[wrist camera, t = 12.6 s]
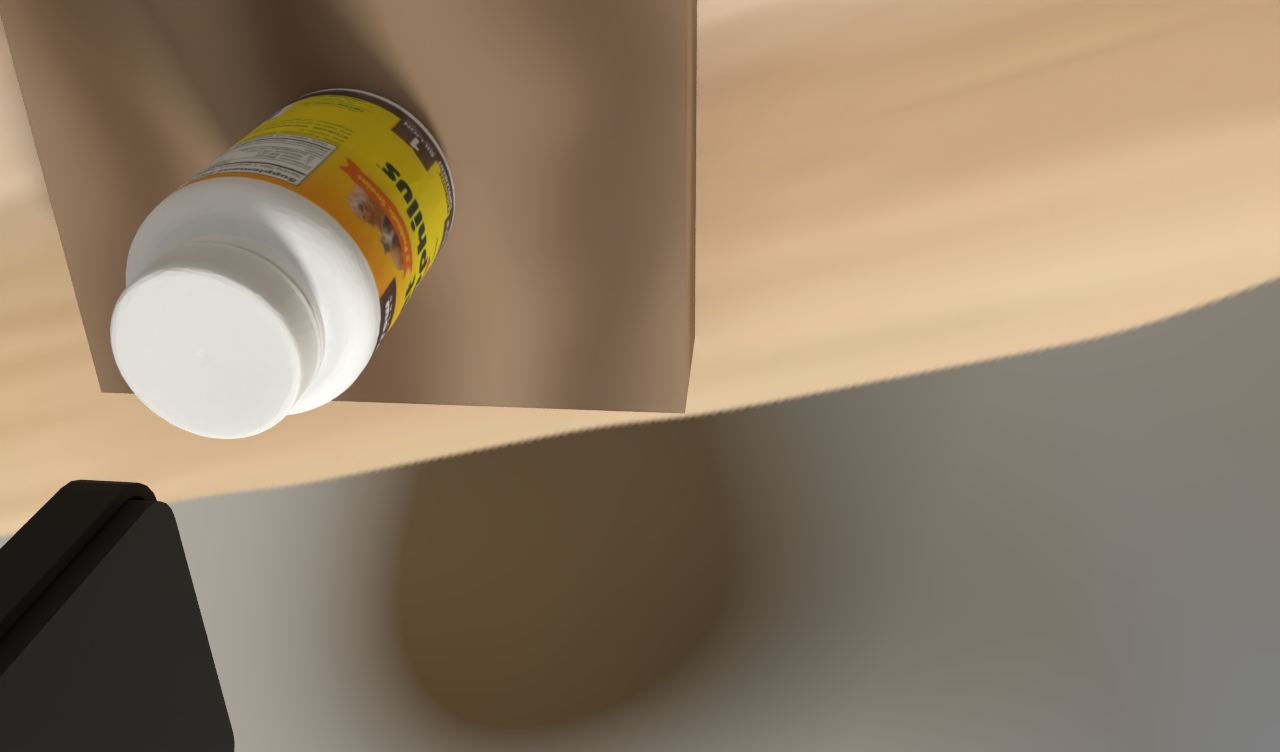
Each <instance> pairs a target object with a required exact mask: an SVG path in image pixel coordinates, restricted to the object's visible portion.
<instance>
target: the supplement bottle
mask: <svg viewBox="0 0 1280 752" xmlns="http://www.w3.org/2000/svg"><path fill="white" fill-rule="evenodd" d="M454 210H455V191H454V184H453V179H452V175H451V171H450V168H449V166H448V163H447V160H446V158H445V156H444V154H443V152H442V150H441V148H440V147H439V145H438V143H437V142H436V140H435V139H434V138H433V136H432V135H431V134H430V132H429V131H428V130H427V129H426V128H425V127H424V126H423V124H422V123H421V122H420V121H419V120H418V119H416V118H415V117H414V116H413V115H412V114H411V113H409V112H408V111H406V110H405V109H404V108H402V107H401V106H399V105H397V104H396V103H394V102H392V101H390V100H388V99H386V98H383V97H381V96H378V95H375V94H373V93H369V92H365V91H360V90H354V89H328V90H321V91H317V92H313V93H310V94H307V95H304V96H302V97H300V98H298V99H296V100H293V101H292V102H291V103H289V104H287V105H286V106H284V107H283V108H282V109H280V110H279V111H278V112H276V113H275V114H274V115H273V116H271V117H270V118H269V119H267V120H266V121H265V122H263V123H262V124H261V125H259V126H258V127H257V128H255V129H254V130H253V131H252V132H251V133H249V134H248V135H247V136H245V137H244V138H243V139H242V140H240V141H239V142H237V143H236V144H235V145H234V146H232V147H231V148H230V149H229V150H227V151H226V152H225V153H223V154H222V155H221V156H219V157H218V158H217V159H216V160H214V161H213V162H212V163H210V164H209V165H208V166H207V167H205V168H204V169H203V170H201V171H200V172H199V173H198V174H196V175H195V176H194V177H192V178H191V179H190V180H189V181H187V182H186V183H185V184H183V185H182V186H180V187H179V188H178V189H177V190H176V191H174V192H173V193H172V194H170V195H169V196H168V197H166V198H165V199H164V200H163V201H162V202H161V203H160V204H159V205H158V206H157V207H156V208H155V209H154V210H153V211H152V212H151V213H150V214H149V215H148V216H147V217H146V219H145V220H144V221H143V223H142V224H141V226H140V228H139V230H138V231H137V233H136V235H135V237H134V239H133V242H132V244H131V247H130V250H129V254H128V259H127V266H126V288H125V289H124V291H123V292H122V293H121V295H120V297H119V298H118V300H117V302H116V305H115V307H114V310H113V313H112V316H111V325H110V338H111V346H112V351H113V354H114V358H115V361H116V364H117V366H118V368H119V370H120V372H121V375H122V377H123V378H124V380H125V381H126V383H127V384H128V386H129V387H130V388H131V390H132V391H133V392H134V393H135V395H136V396H137V397H138V398H139V399H140V400H141V401H142V402H143V403H144V404H145V405H146V406H147V407H148V408H150V409H151V410H152V411H153V412H154V413H156V414H157V415H159V416H160V417H161V418H163V419H164V420H166V421H168V422H169V423H171V424H173V425H175V426H177V427H179V428H181V429H184V430H186V431H189V432H191V433H194V434H198V435H202V436H206V437H211V438H221V439H233V438H244V437H248V436H252V435H255V434H258V433H261V432H263V431H265V430H267V429H269V428H271V427H273V426H274V425H275V424H277V423H278V422H280V421H281V420H282V419H283V418H284V417H285V416H286V415H291V414H297V413H301V412H305V411H308V410H311V409H314V408H317V407H319V406H322V405H324V404H325V403H327V402H329V401H331V400H333V399H334V398H336V397H337V396H339V395H340V394H341V393H343V392H344V391H345V390H346V389H347V388H348V387H350V386H351V385H352V384H353V382H354V381H355V380H356V379H357V377H358V376H359V375H360V373H361V372H362V371H363V370H364V368H365V367H366V366H367V365H368V363H369V362H370V361H371V359H372V357H373V355H374V353H375V351H376V350H377V348H378V347H379V345H380V344H381V343H382V341H383V339H384V337H385V335H386V334H387V332H388V331H389V329H390V328H391V327H392V325H393V324H394V322H395V321H396V319H397V317H398V316H399V314H400V313H401V311H402V310H403V308H404V307H405V305H406V304H407V302H408V301H409V299H410V298H411V296H412V294H413V293H414V291H415V290H416V288H417V287H418V285H419V283H420V282H421V280H422V279H423V277H424V276H425V274H426V273H427V271H428V269H429V268H430V266H431V265H432V263H433V262H434V260H435V259H436V257H437V255H438V254H439V252H440V250H441V248H442V247H443V245H444V243H445V241H446V239H447V237H448V235H449V232H450V229H451V226H452V222H453V217H454Z"/></svg>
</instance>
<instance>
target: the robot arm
mask: <svg viewBox="0 0 1280 752" xmlns="http://www.w3.org/2000/svg"><path fill="white" fill-rule="evenodd" d="M0 752H234V736H233V731H232V727H231V723H230V720H229V716H228V712H227V709H226V705H225V701H224V697H223V694H222V690H221V686H220V683H219V679H218V675H217V672H216V668H215V664H214V660H213V657H212V653H211V649H210V646H209V642H208V638H207V634H206V631H205V627H204V623H203V620H202V616H201V612H200V609H199V605H198V601H197V597H196V594H195V590H194V587H193V583H192V579H191V575H190V572H189V568H188V564H187V561H186V557H185V553H184V550H183V546H182V542H181V539H180V535H179V531H178V527H177V523H176V520H175V517H174V514H173V512H172V509H171V508H170V507H169V506H168V505H167V504H166V503H163V502H161V501H157V500H156V497H155V495H154V493H153V492H152V491H151V490H150V489H149V487H148V486H146V485H143V484H141V483H132V482H114V481H95V480H76V481H71V482H69V483H68V484H67V485H65V486H64V487H62V488H61V489H60V490H59V491H58V492H57V493H56V494H55V495H54V496H53V497H52V498H51V499H50V500H49V501H48V502H47V503H46V504H45V505H44V506H43V507H42V508H41V509H40V510H39V511H38V512H37V513H36V514H35V515H34V516H33V517H32V518H31V519H30V520H29V521H28V522H27V523H26V524H25V525H24V526H23V527H22V528H21V529H20V530H19V531H18V532H17V533H16V534H15V535H14V536H13V537H12V538H11V539H10V540H9V541H8V542H7V543H6V544H5V545H4V546H3V547H2V548H1V549H0Z"/></svg>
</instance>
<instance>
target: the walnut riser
mask: <svg viewBox="0 0 1280 752" xmlns="http://www.w3.org/2000/svg"><path fill="white" fill-rule="evenodd" d="M0 14H1V18H2V22H3V26H4V29H5V33H6V37H7V40H8V44H9V48H10V52H11V55H12V59H13V63H14V67H15V70H16V74H17V78H18V82H19V85H20V89H21V93H22V97H23V100H24V104H25V108H26V111H27V115H28V119H29V123H30V126H31V130H32V134H33V138H34V141H35V145H36V149H37V153H38V156H39V160H40V164H41V168H42V171H43V175H44V179H45V183H46V186H47V190H48V194H49V197H50V201H51V205H52V209H53V212H54V216H55V220H56V224H57V227H58V231H59V235H60V239H61V242H62V246H63V250H64V254H65V257H66V261H67V265H68V269H69V272H70V276H71V280H72V283H73V287H74V291H75V295H76V298H77V302H78V306H79V310H80V313H81V317H82V321H83V325H84V328H85V332H86V336H87V340H88V343H89V347H90V351H91V354H92V358H93V362H94V366H95V369H96V373H97V377H98V381H99V384H100V388H101V392H106V393H133V394H135V393H134V392H133V391H132V390H131V388H130V387H129V386H128V384H127V383H126V381H125V380H124V378H123V377H122V375H121V372H120V370H119V368H118V366H117V364H116V361H115V358H114V354H113V351H112V346H111V338H110V325H111V316H112V313H113V310H114V307H115V305H116V302H117V300H118V298H119V297H120V295H121V293H122V292H123V291H124V289H125V288H126V266H127V259H128V254H129V250H130V247H131V244H132V242H133V239H134V237H135V235H136V233H137V231H138V230H139V228H140V226H141V224H142V223H143V221H144V220H145V219H146V217H147V216H148V215H149V214H150V213H151V212H152V211H153V210H154V209H155V208H156V207H157V206H158V205H159V204H160V203H161V202H162V201H163V200H164V199H165V198H166V197H168V196H169V195H170V194H172V193H173V192H174V191H176V190H177V189H178V188H179V187H180V186H182V185H183V184H185V183H186V182H187V181H189V180H190V179H191V178H192V177H194V176H195V175H196V174H198V173H199V172H200V171H201V170H203V169H204V168H205V167H207V166H208V165H209V164H210V163H212V162H213V161H214V160H216V159H217V158H218V157H219V156H221V155H222V154H223V153H225V152H226V151H227V150H229V149H230V148H231V147H232V146H234V145H235V144H236V143H237V142H239V141H240V140H242V139H243V138H244V137H245V136H247V135H248V134H249V133H251V132H252V131H253V130H254V129H255V128H257V127H258V126H259V125H261V124H262V123H263V122H265V121H266V120H267V119H269V118H270V117H271V116H273V115H274V114H275V113H276V112H278V111H279V110H280V109H282V108H283V107H284V106H286V105H287V104H289V103H291V102H292V101H293V100H296V99H298V98H300V97H302V96H304V95H307V94H310V93H313V92H317V91H321V90H328V89H354V90H360V91H365V92H369V93H373V94H375V95H378V96H381V97H383V98H386V99H388V100H390V101H392V102H394V103H396V104H397V105H399V106H401V107H402V108H404V109H405V110H406V111H408V112H409V113H411V114H412V115H413V116H414V117H415V118H416V119H418V120H419V121H420V122H421V123H422V124H423V126H424V127H425V128H426V129H427V130H428V131H429V132H430V134H431V135H432V136H433V138H434V139H435V140H436V142H437V143H438V145H439V147H440V148H441V150H442V152H443V154H444V156H445V158H446V160H447V163H448V166H449V168H450V171H451V175H452V179H453V184H454V191H455V210H454V217H453V222H452V226H451V229H450V232H449V235H448V237H447V239H446V241H445V243H444V245H443V247H442V248H441V250H440V252H439V254H438V255H437V257H436V259H435V260H434V262H433V263H432V265H431V266H430V268H429V269H428V271H427V273H426V274H425V276H424V277H423V279H422V280H421V282H420V283H419V285H418V287H417V288H416V290H415V291H414V293H413V294H412V296H411V298H410V299H409V301H408V302H407V304H406V305H405V307H404V308H403V310H402V311H401V313H400V314H399V316H398V317H397V319H396V321H395V322H394V324H393V325H392V327H391V328H390V329H389V331H388V332H387V334H386V335H385V337H384V339H383V341H382V343H381V344H380V345H379V347H378V348H377V350H376V351H375V353H374V355H373V357H372V359H371V361H370V362H369V363H368V365H367V366H366V367H365V368H364V370H363V371H362V372H361V373H360V375H359V376H358V377H357V379H356V380H355V381H354V382H353V384H352V385H351V386H350V387H348V388H347V389H346V390H345V391H344V392H343V393H341V394H340V395H339V396H337V397H336V398H334V399H333V400H331V401H355V402H383V403H411V404H439V405H466V406H494V407H522V408H550V409H577V410H605V411H633V412H661V413H685V408H686V400H687V392H688V385H689V377H690V369H691V362H692V354H693V346H694V339H695V216H696V52H697V0H0Z"/></svg>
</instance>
